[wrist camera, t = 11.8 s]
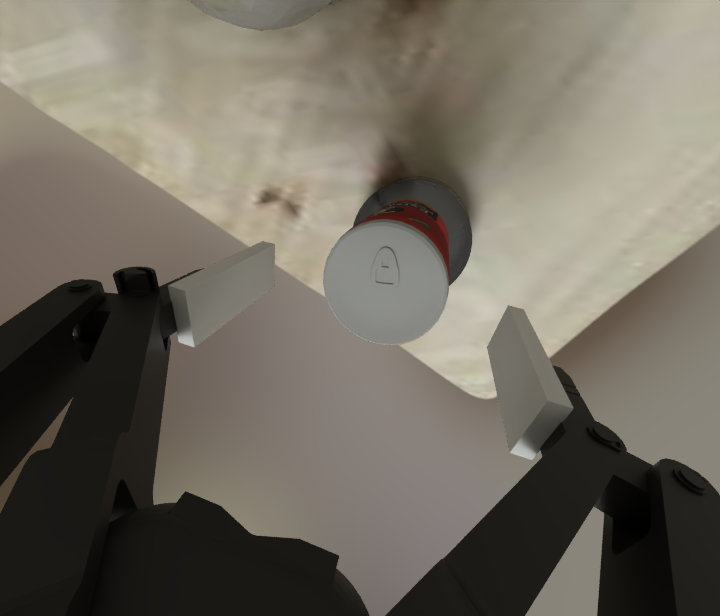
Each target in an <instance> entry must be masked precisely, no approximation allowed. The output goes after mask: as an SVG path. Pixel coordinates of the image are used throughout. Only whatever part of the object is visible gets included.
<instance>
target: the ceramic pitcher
mask: <svg viewBox="0 0 720 616" xmlns="http://www.w3.org/2000/svg"><path fill="white" fill-rule="evenodd" d="M188 1H190V2H191V3H192V4H194V5H195V6H196V7H198V8H199V9H201V10H202V11H203V12H205V13H207V14H209V15H212V16H214V17H216V18H218V19H220V20H223V21H226V22H229V23H231V24H234V25H237V26H240V27H244V28H249V29H255V30H260V31H263V30H273V29H279V28H284V27H290V26H293V25H296V24H298V23H300V22H303V21H305V20H307V19H308V18H310V17H311V16H313V15H314V14H315V13H317V12H318V11H320V10H321V9H322V8H324V7H325V6H326V5H328V4H334V3H336V2H337V1H339V0H188Z"/></svg>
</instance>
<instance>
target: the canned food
mask: <svg viewBox="0 0 720 616" xmlns="http://www.w3.org/2000/svg"><path fill="white" fill-rule="evenodd" d="M323 284H324V291H325V296H326V299H327V301H328V304H329V306H330V308H331V310H332V312H333V314H334V315H335V317H336V318H337V319H338V320H339V321H340V323H341V324H342V325H343V326H344V327H345V328H346V329H348V330H349V331H350V332H351V333H353V334H355V335H356V336H358V337H359V338H361V339H364V340H366V341H368V342H372V343H376V344H382V345H398V344H404V343H407V342H410V341H413V340H415V339H417V338H419V337H421V336H423V335H424V334H425V333H426V332H428V331H429V330H430V329H431V328H432V327H433V326H434V325H435V323H436V322H437V321H438V320H439V318H440V316H441V314H442V312H443V310H444V307H445V304H446V300H447V297H448V290H449V238H448V232H447V229H446V226H445V223H444V222H443V220H442V219H441V217H440V215H439V214H438V213H437V212H436V211H435V210H434V209H432V208H431V207H429V206H428V205H426V204H424V203H422V202H419V201H416V200H409V199H407V200H398V201H394V202H391V203H389V204H387V205H385V206H383V207H382V208H380V209H379V210H377V211H376V212H374V213H373V214H371V215H370V216H368V217H367V218H365V219H364V220H362V221H361V222H359V223H358V224H356V225H355V226H354V227H353V228H351V229H350V230H349V231H348V232H346V233H345V234H344V235H343V236H342V237H341V238H340V239H339V240H338V242H337V243H336V244H335V246H334V247H333V248H332V250H331V252H330V254H329V256H328V258H327V260H326V264H325V269H324V279H323Z"/></svg>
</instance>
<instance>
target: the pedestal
mask: <svg viewBox="0 0 720 616" xmlns="http://www.w3.org/2000/svg"><path fill="white" fill-rule="evenodd" d="M407 199H409V200H416V201H419V202H422V203H424V204H426V205H428V206H429V207H431V208H432V209H434V210H435V211H436V212H437V213H438V214H439V215H440V217H441V219H442V220H443V222H444V223H445V226H446V229H447V232H448V238H449V286H450V285H451V284H452V283H453V282H454V281H455V280H456V279H457V278H458V276H459V275H460V274H461V272H462V271H463V269H464V268H465V266H466V264H467V261H468V259H469V256H470V252H471V246H472V232H471V226H470V222H469V219H468V216H467V213H466V210H465V208H464V206H463V203H462V202H461V200H460V199H459V197H458V196H457V195H456V194H455V192H454V191H452V190H451V189H450V188H449V187H448V186H446V185H444V184H443V183H441V182H439V181H436V180H433V179H430V178H424V177H412V178H406V179H403V180H399V181H397V182H394V183H392V184H389V185H387V186H385V187H383V188H381V189H380V190H378V191H377V192H375V193H374V194H373V195H372V196H371V197H370V198H369V199H368V200H367V201H366V202H365V203H364V204H363V206H362V207H361V209H360V210H359V212H358V214H357V216H356V219H355V222H354V225H353V227H354V226H355V225H356V224H358V223H359V222H361V221H362V220H364V219H365V218H367V217H368V216H370V215H371V214H373V213H374V212H376V211H377V210H379V209H380V208H382V207H383V206H385V205H387V204H389V203H391V202H394V201H398V200H407Z"/></svg>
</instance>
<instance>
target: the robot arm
mask: <svg viewBox="0 0 720 616" xmlns="http://www.w3.org/2000/svg"><path fill="white" fill-rule="evenodd" d="M274 269H275V244H272V243H268V242H264V241H262V242H260V243H258V244H256V245H254V246H252V247H249V248H247V249H245V250H243V251H241V252H239V253H237V254H234V255H232V256H230V257H228V258H226V259H224V260H222V261H219V262H217V263H215V264H213V265H211V266H209V267H207V268H204V269H199V270H195V271H193V272H191V273H188V274H187V275H184V276H182V277H180V279H175V280H173V281H171V282H169V283H167V284H165V285H162V286H160V287H159V286H158V282H157V277H156V272H155V270H153V269H151V268H148V267H128V268H124V269H121V270H118V271H116V272H115V273H114V274H113V277H114V280H115V284H116V287H117V290H118V294H115V293H105V292H104V289H103V286H102V284H101V282H99V281H96V280H84V279H80V280H73V281H71V282H68V283H64V284H62V285H60V286H58V287H57V288H55V289H54V290H52V291H51V292H50V293H48V294H46V295H45V296H44V297H42V298H41V299H39V300H38V301H36V302H35V303H33V304H32V305H30V306H29V307H27V308H26V309H25V310H23V311H22V312H20V313H19V314H17V315H16V316H14V317H13V318H12V319H10V320H8V321H7V322H6V323H4V324H3V325H1V326H0V486H1V485H2V484H3V483H4V481H5V480H6V479H7V478H8V476H9V475H10V474H11V473H12V471H13V470H14V469H15V468H16V467H17V465H18V464H19V463H20V461H21V460H22V459H23V458H24V457H25V455H26V454H27V453H28V452H29V451H30V449H31V448H32V447H33V446H34V444H35V443H36V442H37V441H38V439H39V438H40V437H41V436H42V434H43V433H44V432H45V431H46V430H47V428H48V427H49V426H50V425H51V423H52V422H53V421H54V420H55V419H56V417H57V416H58V415H59V413H60V412H61V411H62V410H63V409H64V407H65V406H66V405H67V404H68V402H69V401H70V400H71V399H72V398H73V399H72V401H71V404H70V406H69V408H68V411H67V413H66V415H65V418H64V420H63V422H62V424H61V427H60V429H59V431H58V433H57V436H56V438H55V440H54V443H53V445H52V446H51V448H49V449H44V450H40V451H36V452H35V453H34V454H32V455H31V456H30V457H29V459H28V460H27V462H26V463H25V465H24V467H23V469H22V471H21V473H20V475H19V477H18V479H17V481H16V483H15V485H14V487H13V489H12V491H11V493H10V495H9V497H8V499H7V501H6V503H5V505H4V507H3V509H2V511H1V513H0V616H369V613H368V611H367V609H366V607H365V605H364V603H363V601H362V599H361V597H360V596H359V594H358V593H357V591H356V590H355V588H354V586H353V585H352V584H351V583H350V582H349V580H348V579H347V578H346V577H345V576H344V575H343V574H342V573H341V572H340V571H339V570H337V569H336V566H337V562H338V559H339V556H338V555H336V554H334V553H331V552H329V551H327V550H324V549H322V548H320V547H317V546H315V545H312V544H310V543H308V542H305V541H303V540H301V539H293V538H279V537H267V536H256V535H252V534H251V533H249V532H248V531H247V530H246V529H245V528H244V527H243V526H242V525H241V524H240V523H238V522H237V521H236V520H235V519H234V518H233V517H232V516H231V515H230V514H229V513H228V512H227V511H225V510H224V509H223V508H222V507H221V506H219V505H217V504H215V503H212V502H210V501H208V500H205V499H203V498H200V497H198V496H195V495H193V494H191V493H188V492H185V493H184V494H183V495H182V496H181V498H180V499H179V500H178V502H177V503H164V504H158V505H154V504H153V484H154V476H155V467H156V458H157V451H158V443H159V434H160V426H161V419H162V411H163V402H164V394H165V386H166V378H167V370H168V362H169V354H170V345H171V341H170V335H171V334H173V333H175V332H176V331H177V334H178V339H179V342H180V343H183V344H186V345H189V346H192V347H196V346H197V345H198V344H200V343H201V342H202V341H203V340H205V339H206V338H207V337H209V336H210V335H211V334H213V333H214V332H215V331H216V330H218V329H219V328H220V327H222V326H223V325H224V324H226V323H227V322H228V321H230V320H231V319H232V318H234V317H235V316H236V315H238V314H239V313H240V312H242V311H243V310H244V309H245V308H247V307H248V306H249V305H251V304H252V303H253V302H255V301H256V300H257V299H259V298H260V297H261V296H263V295H264V294H265V293H266V292H268V291H269V290H270V289H272V288H273V287H274V272H275V270H274ZM73 333H74V336H73ZM487 349H488V354H489V358H490V363H491V368H492V372H493V377H494V382H495V386H496V391H497V396H498V400H499V405H500V409H501V414H502V419H503V423H504V428H505V433H506V437H507V442H508V447H509V451H510V453H512V454H515V455H518V456H521V457H524V458H527V459H530V460H532V459H533V458H534V457H535V455H536V454H537V453H538V452H539V451H540V450H541V454H542V458H541V459H540V460H539V461H538V462H537V463H536V464H535V465H534V466H533V467H532V468H531V469H530V470H529V471H528V473H527V474H526V475H525V476H524V477H523V478H522V479H521V480H520V481H519V482H518V483H517V484H516V485H515V486H514V487H513V488H512V489H511V490H510V491H509V492H508V493H507V494H506V495H505V496H504V497H503V499H501V500H500V501H499V503H497V504H496V505H495V507H494V508H493V509H492V510H491V511H490V512H489V513H488V514H487V515H486V516H485V517H484V518H483V519H482V520H481V521H480V522H479V523H478V524H477V525H476V526H475V527H474V528H473V529H472V530H471V531H470V532H469V533H468V534H467V535H466V536H465V537H464V538H463V539H462V540H461V542H460V543H458V544H457V546H456V547H455V548H454V549H453V550H452V551H451V552H450V553H449V554H448V555H447V556H446V557H445V558H443V559H441V560H440V561H439V562H438V563H437V564H436V565H435V566H434V567H433V568H432V569H431V570H430V571H429V572H428V573H427V574H426V575H425V576H424V577H423V578H422V579H421V580H420V581H419V582H418V583H417V584H416V585H415V586H414V587H413V588H412V589H411V590H410V591H409V592H408V593H407V594H406V595H405V596H404V597H403V598H402V599H401V600H400V601H399V602H398V604H396V605H395V606H394V607H393V608H392V609H391V610H390V612H388V614H387V615H386V616H525V614H526V613H527V611H528V610H529V608H530V607H531V605H532V603H533V602H534V600H535V598H536V597H537V596H538V594H539V592H540V591H541V589H542V588H543V586H544V584H545V582H546V581H547V579H548V578H549V576H550V575H551V573H552V572H553V570H554V568H555V567H556V565H557V563H558V562H559V560H560V559H561V557H562V556H563V554H564V553H565V551H566V549H567V548H568V546H569V545H570V543H571V541H572V539H573V538H574V537H575V535H576V533H577V532H578V530H579V529H580V527H581V525H582V524H583V522H584V521H585V519H586V517H587V516H588V514H589V513H590V511H591V510H592V508H593V506H594V507H596V508H597V509H599V510H600V511H602V512H604V526H603V540H602V542H603V543H602V555H601V570H600V584H599V599H598V613H597V616H720V495H719V493H718V492H717V491H716V490H715V488H714V487H713V486H712V485H711V484H710V483H709V482H708V481H707V480H706V479H705V478H704V477H702V476H701V475H700V474H699V473H698V472H696V471H694V470H692V469H691V468H689V467H688V466H686V465H684V464H682V463H679V462H677V461H675V460H671V459H662V460H660V461H659V462H657V463H656V464H655V465H654V466H653V465H651V464H649V463H647V462H645V461H643V460H641V459H640V458H637V457H636V456H634V455H632V454H630V453H628V452H626V450H627V449H626V447H625V445H624V443H623V441H622V440H621V439H620V438H619V437H618V436H617V435H616V434H615V433H614V432H613V431H611V430H610V429H609V428H608V427H606V426H604V425H602V424H600V423H599V422H596V421H595V420H594V418H593V417H592V415H591V413H590V411H589V409H588V408H587V406H586V404H585V402H584V401H583V399H582V397H580V393H579V392H578V390H577V389H576V386H575V385H574V383H573V381H572V379H571V378H570V376H569V375H567V374H566V373H565V372H564V371H563V370H562V369H561V368H559V367H556V366H553V365H551V363H550V361H549V359H548V357H547V355H546V353H545V351H544V349H543V347H542V345H541V343H540V341H539V339H538V337H537V335H536V333H535V331H534V329H533V327H532V325H531V323H530V321H529V319H528V317H527V315H526V313H525V311H524V309H520V308H516V307H512V306H509V305H508V307H507V309H506V311H505V313H504V315H503V317H502V319H501V321H500V323H499V325H498V327H497V329H496V331H495V333H494V335H493V337H492V339H491V341H490V343H489V345H488V346H487ZM73 396H74V397H73Z"/></svg>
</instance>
